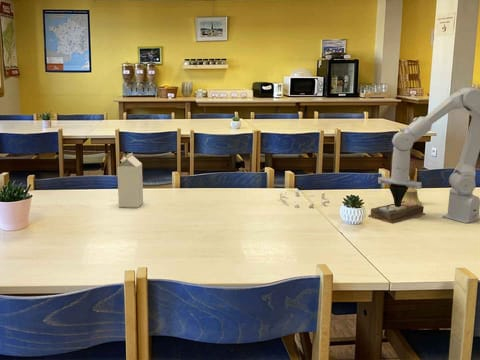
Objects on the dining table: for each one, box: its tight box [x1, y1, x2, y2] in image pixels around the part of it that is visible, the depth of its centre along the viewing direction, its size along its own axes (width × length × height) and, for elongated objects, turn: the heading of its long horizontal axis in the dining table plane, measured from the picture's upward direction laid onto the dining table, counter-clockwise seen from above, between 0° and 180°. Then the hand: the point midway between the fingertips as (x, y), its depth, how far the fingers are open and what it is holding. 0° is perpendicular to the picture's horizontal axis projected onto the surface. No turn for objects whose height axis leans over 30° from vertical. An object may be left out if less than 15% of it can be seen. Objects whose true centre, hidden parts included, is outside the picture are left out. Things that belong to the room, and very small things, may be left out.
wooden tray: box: [368, 201, 426, 224], centre depth 189 cm, size 10×18×3 cm, turn 127°
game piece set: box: [277, 188, 330, 209], centre depth 208 cm, size 19×20×4 cm
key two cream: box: [389, 205, 406, 211], centre depth 189 cm, size 4×4×3 cm
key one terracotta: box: [401, 202, 416, 208], centre depth 193 cm, size 4×4×3 cm
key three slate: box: [379, 207, 396, 213], centre depth 186 cm, size 4×4×3 cm
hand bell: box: [402, 161, 422, 206], centre depth 205 cm, size 8×8×16 cm
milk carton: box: [116, 152, 144, 209], centre depth 198 cm, size 7×7×19 cm
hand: (397, 206), depth 189 cm, fingers closed, pressing on key two cream
